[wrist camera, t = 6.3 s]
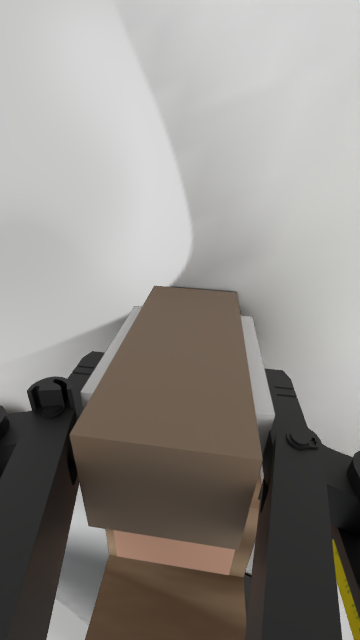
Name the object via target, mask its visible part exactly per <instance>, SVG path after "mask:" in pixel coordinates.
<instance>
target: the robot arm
mask: <svg viewBox="0 0 360 640" xmlns="http://www.w3.org/2000/svg"><path fill="white" fill-rule="evenodd" d="M141 308H142V307H139V306H135V307H134V308H133V309H132V311H131V313H130V314H129V316H128V317H127V319H126V321H125V322H124V324H123V325H122V327H121V328H120V330H119V332H118V333H117V335H116V336H115V338H114V340H113V341H112V343H111V344H110V346H109V348H108V349H107V351H106V352H105V353H103V352H94V351H92V352H91V353H89V354H88V355H86V356H85V357H83V358H82V360H81V361H80V362H79V364H78V365H77V367H76V368H75V369H74V371H73V373H72V374H71V375H70V376H69V377H68V379H65V378H63V377H49V378H45V379H42V380H40V381H38V382H36V383H35V384H33V385H31V387H30V388H29V389H28V390H27V394H28V397H29V401H30V404H31V408H32V411H28V412H21V413H14V414H6V411H5V409H4V408H3V407H2V406H0V640H46V638H47V633H48V629H49V624H50V619H51V615H52V610H53V605H54V600H55V596H56V591H57V586H58V581H59V577H60V572H61V567H62V562H63V558H64V553H65V548H66V543H67V539H68V534H69V529H70V524H71V520H72V515H73V510H74V505H75V501H76V496H77V491H78V486H79V478H78V473H77V468H76V463H75V459H74V454H73V449H72V444H71V440H70V435H69V434H70V433H71V431H72V429H73V427H74V426H75V424H76V422H77V420H78V419H79V417H80V415H81V413H82V412H83V410H84V408H85V406H86V405H87V403H88V401H89V399H90V398H91V396H92V394H93V392H94V391H95V389H96V387H97V385H98V384H99V382H100V380H101V378H102V377H103V375H104V373H105V371H106V370H107V368H108V366H109V364H110V363H111V361H112V359H113V357H114V356H115V354H116V352H117V350H118V349H119V347H120V345H121V343H122V342H123V340H124V338H125V336H126V335H127V333H128V331H129V329H130V328H131V326H132V324H133V322H134V321H135V319H136V317H137V315H138V314H139V312H140V310H141ZM241 321H242V328H243V334H244V341H245V347H246V354H247V360H248V367H249V374H250V380H251V387H252V393H253V400H254V406H255V413H256V419H257V426H258V432H259V439H260V446H261V452H262V459H263V461H262V465H261V466H263V472H264V479H263V482H262V486H261V489H260V493H259V496H258V500H260V504H259V513H258V523H257V532H256V541H255V550H254V559H253V568H252V577H249V576H247V575H245V574H244V593H245V609H246V632H245V640H342V633H341V623H340V613H339V603H338V593H337V583H336V573H335V563H334V553H333V543H332V536H333V539H334V542H335V545H336V548H337V551H338V554H339V558H340V561H341V564H342V567H343V570H344V573H345V576H346V579H347V582H348V585H349V588H350V592H351V595H352V598H353V601H354V604H355V607H356V610H357V613H358V616H359V619H360V451H358V452H357V453H355V454H354V456H353V457H350V456H348V455H345V454H342V453H340V452H337V451H335V450H332V449H330V448H328V447H326V446H324V445H323V444H322V443H321V440H320V439H319V438H318V436H317V435H316V434H315V433H314V432H313V431H311V430H310V429H309V428H308V427H307V425H306V422H305V419H304V416H303V413H302V410H301V407H300V404H299V402H298V399H297V398H296V397H297V396H296V393H295V390H294V387H293V384H292V382H291V379H290V378H289V377H288V376H287V375H286V374H285V372H284V371H282V370H273V369H264V365H263V361H262V357H261V352H260V348H259V344H258V339H257V335H256V331H255V327H254V322H253V318H252V317H251V316H241ZM260 469H261V468H260ZM259 473H260V472H259Z"/></svg>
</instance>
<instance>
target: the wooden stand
mask: <svg viewBox="0 0 360 640" xmlns="http://www.w3.org/2000/svg"><path fill="white" fill-rule="evenodd" d="M261 486H262V485H261V478H260V473H259V476H258V480H257V483H256V487H255V491H254V494H253V498H252V502H251V506H250V509H249V513H248V517H247V521H246V524H245V528H244V532H243V536H242V539H241V543H240V547H239V550H235V553H234V557H233V561H232V565H231V568H230V572H229V575H224V574H219V573H213V572H207V571H201V570H195V569H189V568H183V567H177V566H171V565H166V564H160V563H154V562H148V561H142V560H136V559H130V558H124V557H118V556H117V553H116V545H115V538H114V531H113V530H110V529H105V530H106V537H107V543H108V549H109V558H108V561H107V565H106V568H105V572H104V575H103V579H102V582H101V586H100V589H99V593H98V596H97V600H96V603H95V607H94V610H93V614H92V617H91V621H90V624H89V628H88V631H87V635H86V638H85V640H245V632H246V609H245V593H244V574H245V571H246V568H247V565H248V562H249V558H250V555H251V552H252V549H253V546H254V542H255V539H256V532H257V523H258V513H259V504H260V500H258V496H259V493H260V489H261Z"/></svg>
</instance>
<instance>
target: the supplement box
mask: <svg viewBox="0 0 360 640" xmlns="http://www.w3.org/2000/svg"><path fill="white" fill-rule="evenodd" d="M332 543H333V553H334V563H335V573H336V580H337V584H338V587H339V591H340V594H341V597H342V600H343V604H344V607H345V611H346V614H347V618H348V620H349V625H350V628H351V631H352V634H353V638H354V640H360V619H359V616H358V613H357V610H356V607H355V604H354V601H353V598H352V595H351V592H350V588H349V585H348V582H347V579H346V576H345V573H344V570H343V567H342V564H341V561H340V558H339V554H338V551H337V548H336V545H335V542H334V539H333V536H332Z"/></svg>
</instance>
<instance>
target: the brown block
mask: <svg viewBox="0 0 360 640" xmlns="http://www.w3.org/2000/svg"><path fill="white" fill-rule="evenodd" d="M69 435H70V440H71V444H72V449H73V454H74V459H75V463H76V468H77V473H78V478H79V483H80V487H81V492H82V497H83V502H84V506H85V511H86V516H87V521H88V525H89V526H91V527H97V528H104V529H110V530H113V531H114V538H115V545H116V553H117V556H118V557H124V558H130V559H136V560H142V561H148V562H154V563H160V564H166V565H171V566H177V567H183V568H189V569H195V570H201V571H207V572H213V573H219V574H224V575H229V572H230V568H231V565H232V561H233V557H234V553H235V550H239V547H240V543H241V539H242V536H243V532H244V528H245V524H246V521H247V517H248V513H249V509H250V506H251V502H252V498H253V494H254V491H255V487H256V483H257V480H258V476H259V472H260V468H261V465H262V461H263V459H262V452H261V446H260V439H259V432H258V426H257V419H256V413H255V406H254V400H253V393H252V387H251V380H250V374H249V367H248V360H247V354H246V347H245V341H244V334H243V328H242V321H241V315H240V308H239V302H238V295H237V292H226V291H213V290H201V289H188V288H175V287H162V286H154V287H153V289H152V291H151V293H150V294H149V296H148V298H147V300H146V301H145V303H144V305H143V307H142V308H141V310H140V312H139V314H138V315H137V317H136V319H135V321H134V322H133V324H132V326H131V328H130V329H129V331H128V333H127V335H126V336H125V338H124V340H123V342H122V343H121V345H120V347H119V349H118V350H117V352H116V354H115V356H114V357H113V359H112V361H111V363H110V364H109V366H108V368H107V370H106V371H105V373H104V375H103V377H102V378H101V380H100V382H99V384H98V385H97V387H96V389H95V391H94V392H93V394H92V396H91V398H90V399H89V401H88V403H87V405H86V406H85V408H84V410H83V412H82V413H81V415H80V417H79V419H78V420H77V422H76V424H75V426H74V427H73V429H72V431H71V433H70V434H69Z"/></svg>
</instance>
